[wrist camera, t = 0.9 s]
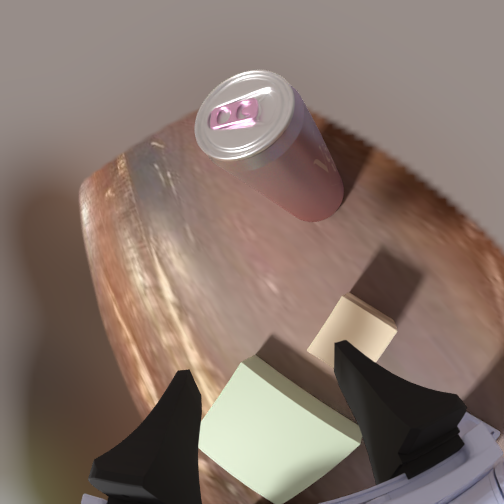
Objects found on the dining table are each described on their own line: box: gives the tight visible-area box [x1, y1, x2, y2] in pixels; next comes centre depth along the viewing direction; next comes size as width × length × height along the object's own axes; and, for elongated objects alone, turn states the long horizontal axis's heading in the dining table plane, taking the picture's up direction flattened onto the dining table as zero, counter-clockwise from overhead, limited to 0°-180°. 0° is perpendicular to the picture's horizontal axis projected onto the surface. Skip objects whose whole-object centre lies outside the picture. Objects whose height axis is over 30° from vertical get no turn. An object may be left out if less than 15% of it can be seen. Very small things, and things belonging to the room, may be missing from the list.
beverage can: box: [195, 70, 344, 222], centre depth 19 cm, size 6×6×15 cm
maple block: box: [307, 293, 397, 369], centre depth 20 cm, size 5×5×5 cm
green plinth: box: [198, 355, 362, 504], centre depth 23 cm, size 14×14×3 cm
